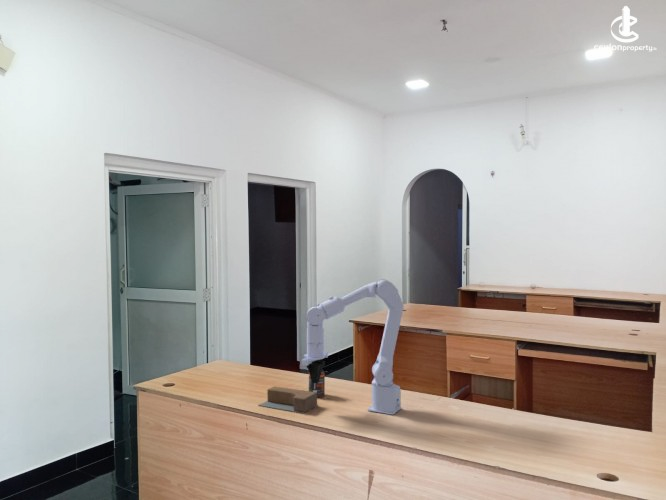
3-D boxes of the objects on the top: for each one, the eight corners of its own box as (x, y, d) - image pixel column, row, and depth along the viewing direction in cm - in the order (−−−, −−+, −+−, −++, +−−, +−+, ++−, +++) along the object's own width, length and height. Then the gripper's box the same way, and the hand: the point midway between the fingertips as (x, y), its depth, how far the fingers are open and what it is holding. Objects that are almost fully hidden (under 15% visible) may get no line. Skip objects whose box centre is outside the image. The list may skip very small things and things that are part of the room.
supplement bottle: (317, 398, 188) (317, 368, 188) (305, 396, 192) (305, 365, 192) (327, 395, 193) (327, 364, 193) (315, 392, 197) (315, 362, 197)
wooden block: (304, 399, 172) (259, 392, 180) (304, 412, 172) (259, 405, 180) (317, 392, 180) (273, 385, 188) (317, 404, 180) (273, 398, 188)
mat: (317, 405, 181) (317, 404, 181) (302, 413, 172) (302, 412, 172) (274, 398, 189) (274, 397, 189) (258, 405, 180) (258, 405, 180)
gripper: (315, 338, 184) (315, 376, 184) (293, 345, 171) (293, 386, 171) (333, 339, 180) (333, 378, 180) (312, 347, 167) (312, 389, 168)
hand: (315, 382), depth 175 cm, fingers closed
